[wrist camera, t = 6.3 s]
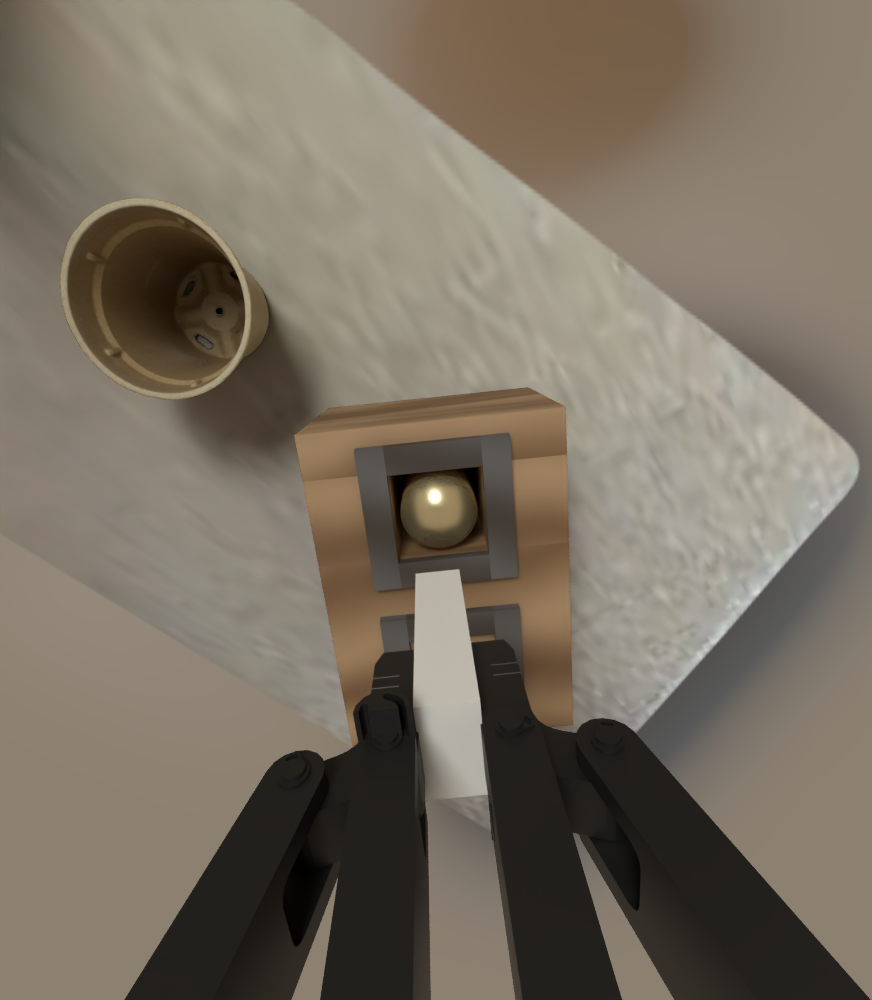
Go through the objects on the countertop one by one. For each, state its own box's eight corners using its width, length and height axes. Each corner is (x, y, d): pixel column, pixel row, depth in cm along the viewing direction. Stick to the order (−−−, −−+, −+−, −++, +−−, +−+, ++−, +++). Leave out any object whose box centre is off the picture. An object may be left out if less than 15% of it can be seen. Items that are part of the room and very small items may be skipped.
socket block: (328, 408, 36) (291, 437, 26) (528, 387, 36) (568, 408, 26) (368, 652, 42) (351, 753, 32) (539, 635, 42) (575, 731, 32)
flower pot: (144, 367, 35) (57, 377, 27) (151, 215, 32) (57, 175, 24) (283, 397, 36) (241, 416, 28) (302, 252, 33) (261, 224, 25)
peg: (402, 447, 35) (395, 480, 27) (463, 441, 35) (474, 472, 27) (409, 505, 36) (405, 552, 28) (468, 499, 36) (480, 545, 28)
